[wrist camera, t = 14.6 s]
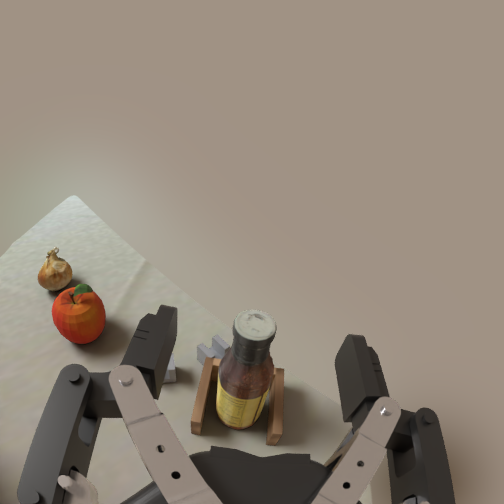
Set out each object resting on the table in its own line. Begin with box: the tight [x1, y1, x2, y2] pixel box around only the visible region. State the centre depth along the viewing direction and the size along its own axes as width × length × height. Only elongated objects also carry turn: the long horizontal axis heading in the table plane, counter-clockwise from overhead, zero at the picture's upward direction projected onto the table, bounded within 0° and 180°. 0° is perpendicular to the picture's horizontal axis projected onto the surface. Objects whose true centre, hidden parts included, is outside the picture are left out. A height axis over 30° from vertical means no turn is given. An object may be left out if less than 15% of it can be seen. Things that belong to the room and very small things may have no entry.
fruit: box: [52, 284, 106, 344], centre depth 42 cm, size 10×10×10 cm
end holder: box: [191, 357, 284, 446], centre depth 38 cm, size 11×11×4 cm
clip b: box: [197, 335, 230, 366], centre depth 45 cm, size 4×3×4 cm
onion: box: [38, 247, 72, 292], centre depth 50 cm, size 8×8×8 cm
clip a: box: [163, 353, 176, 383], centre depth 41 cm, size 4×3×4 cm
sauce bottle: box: [216, 310, 276, 429], centre depth 33 cm, size 6×6×20 cm
